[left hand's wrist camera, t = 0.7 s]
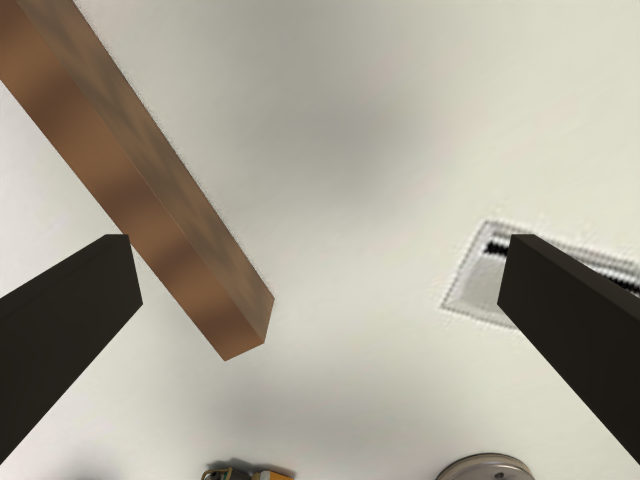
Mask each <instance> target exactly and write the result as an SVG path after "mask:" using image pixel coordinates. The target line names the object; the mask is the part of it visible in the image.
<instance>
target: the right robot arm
mask: <svg viewBox="0 0 640 480" xmlns="http://www.w3.org/2000/svg"><path fill="white" fill-rule="evenodd" d="M437 480H535V479H534V477H533V475H532V474H531V472H530V470H529V469H528V468H527V467H526V465H524V464H523V463H522V462H520V461H519V460H517V459H514V458H512V457H509V456H504V455H498V454H485V455H477V456H473V457H469V458H466V459H463V460H461V461H459V462H457V463H455V464H453V465H451V466H450V467H449V468H447V469H446V470H445V471H444V472H443V473H442V474H441V475H440V476H439V477H438V479H437Z"/></svg>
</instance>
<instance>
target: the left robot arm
mask: <svg viewBox="0 0 640 480" xmlns="http://www.w3.org/2000/svg"><path fill="white" fill-rule="evenodd" d="M142 305H143V302H142V297H141V292H140V287H139V283H138V278H137V273H136V268H135V264H134V259H133V254H132V249H131V245H130V240H129V235H128V234H106V235H104V236H102V237H101V238H99V239H97V240H96V241H94V242H93V243H91V244H89V245H88V246H86V247H84V248H83V249H81V250H79V251H78V252H76V253H74V254H73V255H71V256H69V257H68V258H66V259H65V260H63V261H61V262H60V263H58V264H56V265H55V266H53V267H51V268H50V269H48V270H46V271H45V272H43V273H41V274H40V275H38V276H36V277H35V278H33V279H32V280H30V281H28V282H27V283H25V284H23V285H22V286H20V287H18V288H17V289H15V290H13V291H12V292H10V293H8V294H7V295H5V296H4V297H2V298H0V465H1V464H2V463H3V461H4V460H5V459H6V458H7V457H8V456H9V455H10V454H11V452H12V451H13V450H14V449H15V448H16V447H17V446H18V445H19V443H20V442H21V441H22V440H23V439H24V438H25V437H26V436H27V434H28V433H29V432H30V431H31V430H32V429H33V428H34V427H35V425H36V424H37V423H38V422H39V421H40V420H41V419H42V418H43V416H44V415H45V414H46V413H47V412H48V411H49V410H50V408H51V407H52V406H53V405H54V404H55V403H56V402H57V401H58V399H59V398H60V397H61V396H62V395H63V394H64V393H65V392H66V390H67V389H68V388H69V387H70V386H71V385H72V384H73V383H74V381H75V380H76V379H77V378H78V377H79V376H80V375H81V374H82V372H83V371H84V370H85V369H86V368H87V367H88V366H89V365H90V363H91V362H92V361H93V360H94V359H95V358H96V357H97V355H98V354H99V353H100V352H101V351H102V350H103V349H104V348H105V346H106V345H107V344H108V343H109V342H110V341H111V340H112V339H113V337H114V336H115V335H116V334H117V333H118V332H119V331H120V330H121V328H122V327H123V326H124V325H125V324H126V323H127V322H128V321H129V319H130V318H131V317H132V316H133V315H134V314H135V313H136V311H137V310H138V309H139V308H140V307H141V306H142ZM497 305H498V306H499V307H500V308H501V309H502V310H503V311H504V313H505V314H506V315H507V316H508V317H509V318H510V319H511V321H512V322H513V323H514V324H515V325H516V326H517V327H518V328H519V330H520V331H521V332H522V333H523V334H524V335H525V336H526V337H527V339H528V340H529V341H530V342H531V343H532V344H533V345H534V346H535V348H536V349H537V350H538V351H539V352H540V353H541V354H542V355H543V357H544V358H545V359H546V360H547V361H548V362H549V363H550V365H551V366H552V367H553V368H554V369H555V370H556V371H557V372H558V374H559V375H560V376H561V377H562V378H563V379H564V380H565V381H566V383H567V384H568V385H569V386H570V387H571V388H572V389H573V390H574V392H575V393H576V394H577V395H578V396H579V397H580V398H581V399H582V401H583V402H584V403H585V404H586V405H587V406H588V407H589V408H590V410H591V411H592V412H593V413H594V414H595V415H596V416H597V418H598V419H599V420H600V421H601V422H602V423H603V424H604V425H605V427H606V428H607V429H608V430H609V431H610V432H611V433H612V434H613V436H614V437H615V438H616V439H617V440H618V441H619V442H620V443H621V445H622V446H623V447H624V448H625V449H626V450H627V451H628V452H629V454H630V455H631V456H632V457H633V458H634V459H635V460H636V461H637V463H638V464H639V465H640V298H638V297H636V296H635V295H633V294H632V293H630V292H628V291H627V290H625V289H623V288H622V287H620V286H618V285H617V284H615V283H613V282H612V281H610V280H608V279H607V278H605V277H604V276H602V275H600V274H599V273H597V272H595V271H594V270H592V269H590V268H589V267H587V266H585V265H584V264H582V263H580V262H579V261H577V260H575V259H574V258H572V257H571V256H569V255H567V254H566V253H564V252H562V251H561V250H559V249H557V248H556V247H554V246H552V245H551V244H549V243H547V242H546V241H544V240H543V239H541V238H539V237H538V236H536V235H534V234H512V235H511V240H510V245H509V249H508V254H507V259H506V264H505V268H504V273H503V278H502V283H501V287H500V292H499V297H498V302H497Z"/></svg>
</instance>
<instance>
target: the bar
mask: <svg viewBox="0 0 640 480" xmlns="http://www.w3.org/2000/svg"><path fill="white" fill-rule="evenodd" d="M0 80H1V81H2V82H3V83H4V85H5V86H6V87H7V88H8V90H9V91H10V92H11V94H12V95H13V96H14V97H15V99H16V100H17V101H18V102H19V104H20V105H21V106H22V107H23V109H24V110H25V111H26V112H27V114H28V115H29V116H30V117H31V119H32V120H33V121H34V122H35V124H36V125H37V126H38V127H39V129H40V130H41V131H42V132H43V134H44V135H45V136H46V138H47V139H48V140H49V141H50V143H51V144H52V145H53V146H54V148H55V149H56V150H57V151H58V153H59V154H60V155H61V156H62V158H63V159H64V160H65V161H66V163H67V164H68V165H69V166H70V168H71V169H72V170H73V171H74V173H75V174H76V175H77V176H78V178H79V179H80V180H81V182H82V183H83V184H84V185H85V187H86V188H87V189H88V190H89V192H90V193H91V194H92V195H93V197H94V198H95V199H96V200H97V202H98V203H99V204H100V205H101V207H102V208H103V209H104V210H105V212H106V213H107V214H108V215H109V217H110V218H111V219H112V220H113V222H114V223H115V224H116V226H117V227H118V228H119V229H120V231H121V232H122V233H123V234H128V235H129V240H130V243H131V244H132V246H133V247H134V248H135V249H136V251H137V252H138V253H139V254H140V256H141V257H142V258H143V259H144V261H145V262H146V263H147V264H148V266H149V267H150V268H151V270H152V271H153V272H154V273H155V275H156V276H157V277H158V278H159V280H160V281H161V282H162V283H163V285H164V286H165V287H166V288H167V290H168V291H169V292H170V293H171V295H172V296H173V297H174V298H175V300H176V301H177V302H178V303H179V305H180V306H181V307H182V308H183V310H184V311H185V312H186V314H187V315H188V316H189V317H190V319H191V320H192V321H193V322H194V324H195V325H196V326H197V327H198V329H199V330H200V331H201V332H202V334H203V335H204V336H205V337H206V339H207V340H208V341H209V342H210V344H211V345H212V346H213V347H214V349H215V350H216V351H217V352H218V354H219V355H220V356H221V358H222V359H223V360H224V361H227V360H229V359H231V358H233V357H235V356H237V355H240V354H242V353H244V352H246V351H248V350H250V349H252V348H255V347H257V346H259V345H261V344H263V343H264V341H265V337H266V333H267V329H268V324H269V320H270V316H271V311H272V307H273V303H274V297H273V296H272V294H271V293H270V291H269V290H268V288H267V287H266V286H265V284H264V283H263V281H262V280H261V278H260V277H259V275H258V274H257V272H256V271H255V269H254V268H253V266H252V265H251V263H250V262H249V260H248V259H247V257H246V256H245V255H244V253H243V252H242V250H241V249H240V247H239V246H238V244H237V243H236V241H235V240H234V238H233V237H232V235H231V234H230V232H229V231H228V229H227V228H226V227H225V225H224V224H223V222H222V221H221V219H220V218H219V216H218V215H217V213H216V212H215V210H214V209H213V207H212V206H211V204H210V203H209V201H208V200H207V198H206V197H205V196H204V194H203V193H202V191H201V190H200V188H199V187H198V185H197V184H196V182H195V181H194V179H193V178H192V176H191V175H190V173H189V172H188V170H187V169H186V168H185V166H184V165H183V163H182V162H181V160H180V159H179V157H178V156H177V154H176V153H175V151H174V150H173V148H172V147H171V145H170V144H169V142H168V141H167V139H166V138H165V137H164V135H163V134H162V132H161V131H160V129H159V128H158V126H157V125H156V123H155V122H154V120H153V119H152V117H151V116H150V114H149V113H148V111H147V110H146V109H145V107H144V106H143V104H142V103H141V101H140V100H139V98H138V97H137V95H136V94H135V92H134V91H133V89H132V88H131V86H130V85H129V83H128V82H127V81H126V79H125V78H124V76H123V75H122V73H121V72H120V70H119V69H118V67H117V66H116V64H115V63H114V61H113V60H112V58H111V57H110V55H109V54H108V52H107V51H106V50H105V48H104V47H103V45H102V44H101V42H100V41H99V39H98V38H97V36H96V35H95V33H94V32H93V30H92V29H91V27H90V26H89V24H88V23H87V22H86V20H85V19H84V17H83V16H82V14H81V13H80V11H79V10H78V8H77V7H76V5H75V4H74V2H73V1H72V0H0Z"/></svg>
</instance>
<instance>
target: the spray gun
mask: <svg viewBox="0 0 640 480" xmlns="http://www.w3.org/2000/svg"><path fill="white" fill-rule="evenodd" d="M224 472H225V474H224ZM209 473H211V475H209V476H208V477H206V479H205V480H294V479H292V478H289V477H286V476H283V475H280V474H277V473H274V472H271V471H263V472H261V473H257V472H256V473H255V474H254V475H253V476H252V477H250V476H248V475H246V474H243V473H241V472H239V471H236V470H234V469H233V470H232V467H229V468H228V469H219V470H208V471H205V472H204V474H203V475H202V478H201V480H204V478H205V476H206V475H207V474H209Z"/></svg>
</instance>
